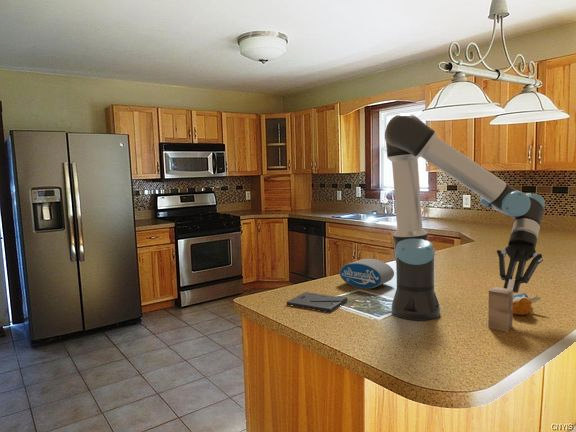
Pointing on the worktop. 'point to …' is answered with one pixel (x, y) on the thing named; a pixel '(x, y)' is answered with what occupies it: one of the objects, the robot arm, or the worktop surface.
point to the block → (500, 308)
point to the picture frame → (317, 301)
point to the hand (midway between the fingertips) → (508, 300)
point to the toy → (523, 303)
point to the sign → (366, 273)
